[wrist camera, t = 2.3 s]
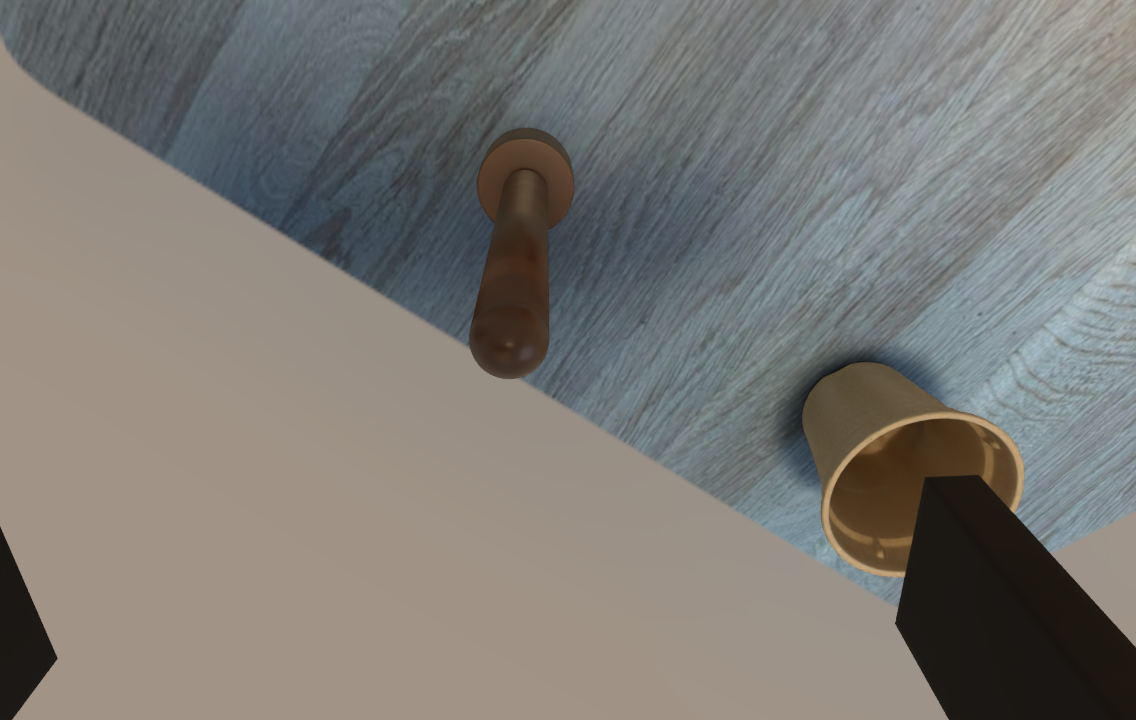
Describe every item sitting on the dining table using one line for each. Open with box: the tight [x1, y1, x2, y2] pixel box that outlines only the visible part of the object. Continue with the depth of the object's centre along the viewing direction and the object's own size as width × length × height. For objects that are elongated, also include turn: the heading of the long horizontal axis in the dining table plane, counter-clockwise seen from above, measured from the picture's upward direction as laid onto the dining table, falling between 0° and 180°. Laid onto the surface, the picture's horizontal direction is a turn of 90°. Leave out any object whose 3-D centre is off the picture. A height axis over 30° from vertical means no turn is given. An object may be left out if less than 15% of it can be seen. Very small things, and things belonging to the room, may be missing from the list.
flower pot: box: [802, 362, 1025, 577], centre depth 39 cm, size 9×9×9 cm
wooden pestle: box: [469, 128, 574, 379], centre depth 28 cm, size 4×4×21 cm
